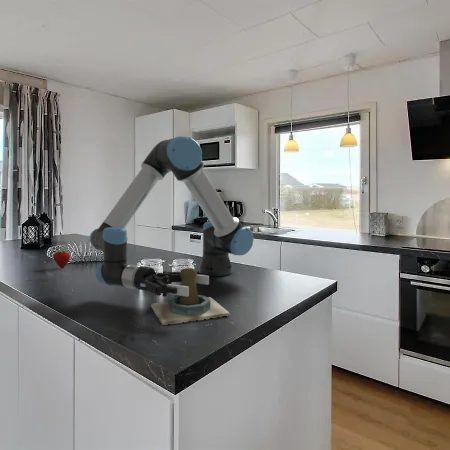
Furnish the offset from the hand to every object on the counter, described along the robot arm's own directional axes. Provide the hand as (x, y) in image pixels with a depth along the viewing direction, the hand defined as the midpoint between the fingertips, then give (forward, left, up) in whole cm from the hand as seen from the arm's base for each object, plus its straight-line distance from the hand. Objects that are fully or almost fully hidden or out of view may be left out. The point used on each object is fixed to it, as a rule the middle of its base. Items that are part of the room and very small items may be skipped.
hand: (199, 285), depth 104 cm
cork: (+2, -4, -7) cm, 8 cm away
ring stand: (+2, -2, -8) cm, 9 cm away
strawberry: (+40, -76, -9) cm, 87 cm away
